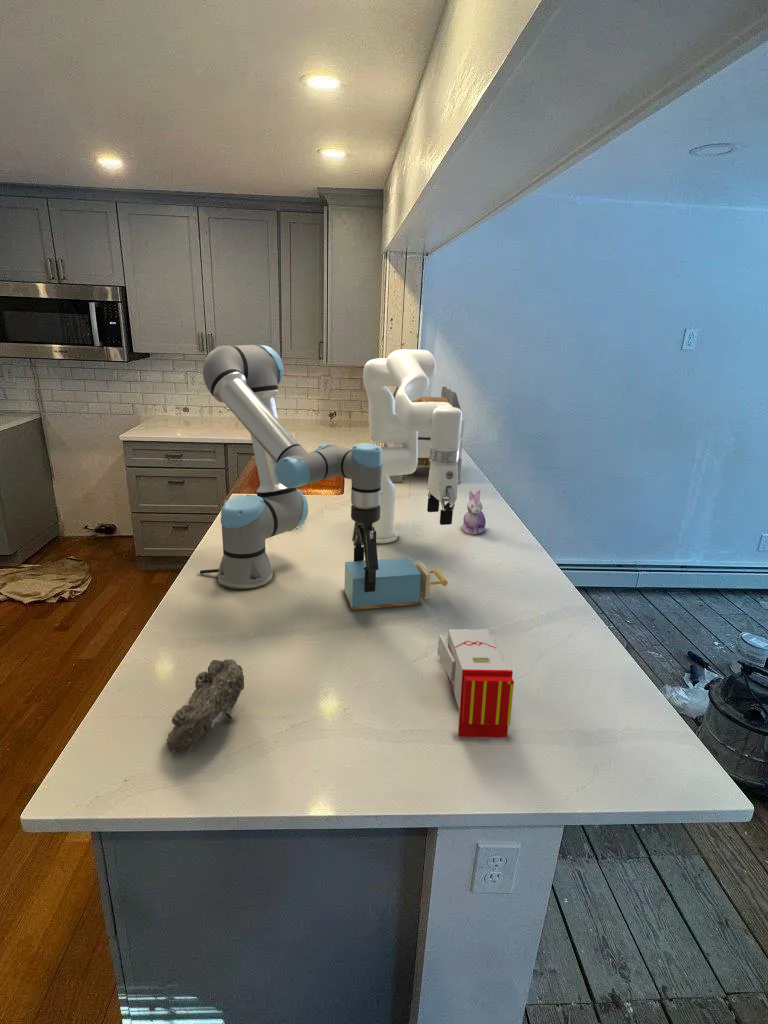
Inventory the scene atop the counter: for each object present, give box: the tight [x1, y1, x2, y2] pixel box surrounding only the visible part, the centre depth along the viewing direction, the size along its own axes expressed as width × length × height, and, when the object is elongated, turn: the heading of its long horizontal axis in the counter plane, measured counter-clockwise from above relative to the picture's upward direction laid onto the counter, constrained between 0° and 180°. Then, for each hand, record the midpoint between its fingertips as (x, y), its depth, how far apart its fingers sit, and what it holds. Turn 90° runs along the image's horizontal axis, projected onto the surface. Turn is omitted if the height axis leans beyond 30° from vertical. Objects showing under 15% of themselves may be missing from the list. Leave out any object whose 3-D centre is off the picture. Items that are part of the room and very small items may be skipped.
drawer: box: [415, 560, 449, 600], centre depth 156 cm, size 23×9×7 cm, turn 105°
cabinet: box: [343, 557, 421, 611], centre depth 154 cm, size 18×11×9 cm, turn 105°
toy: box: [437, 628, 515, 738], centre depth 117 cm, size 12×13×30 cm
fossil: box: [166, 658, 245, 754], centre depth 106 cm, size 22×10×15 cm
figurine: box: [462, 489, 487, 535], centre depth 203 cm, size 9×10×15 cm
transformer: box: [383, 386, 465, 484], centre depth 268 cm, size 34×33×41 cm
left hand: (363, 579), depth 152 cm, fingers open, 13 cm apart
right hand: (439, 517), depth 152 cm, fingers open, 9 cm apart
